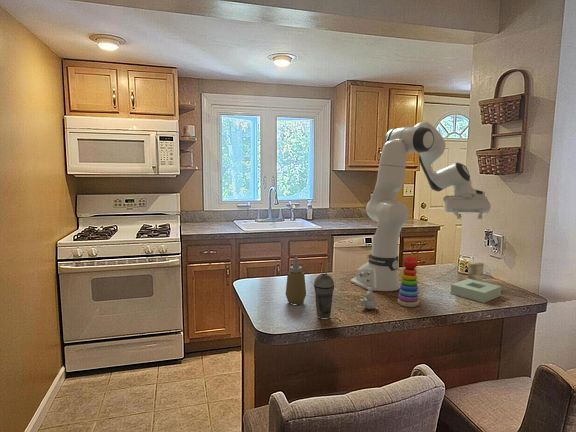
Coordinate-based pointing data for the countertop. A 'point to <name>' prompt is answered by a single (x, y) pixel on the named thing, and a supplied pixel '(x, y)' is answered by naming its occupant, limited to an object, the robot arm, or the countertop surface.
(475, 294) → the socket block
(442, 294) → the countertop surface
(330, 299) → the beverage cup
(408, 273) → the stacking toy
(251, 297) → the countertop surface
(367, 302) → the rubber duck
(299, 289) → the squeeze bottle
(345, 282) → the countertop surface
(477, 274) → the peg
